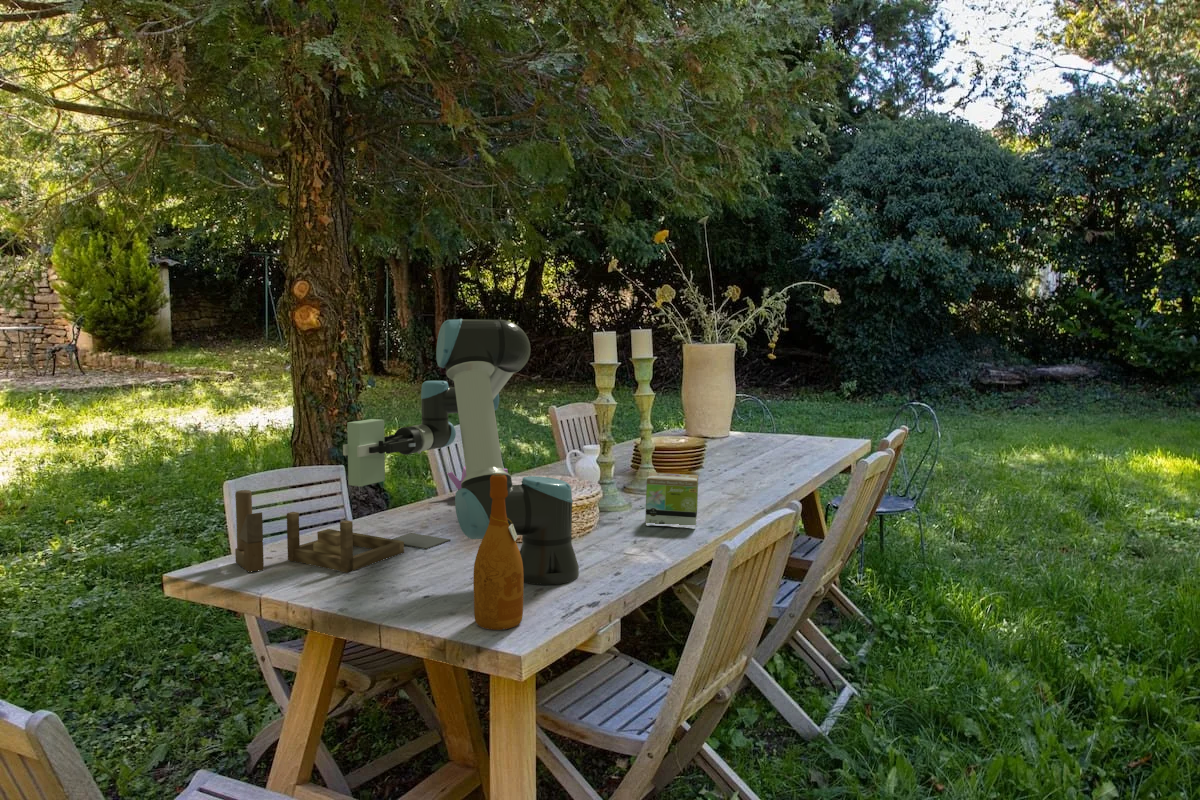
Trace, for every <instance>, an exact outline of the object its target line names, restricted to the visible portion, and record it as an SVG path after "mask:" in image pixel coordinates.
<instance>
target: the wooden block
mask: <svg viewBox="0 0 1200 800" xmlns="http://www.w3.org/2000/svg"><path fill="white" fill-rule="evenodd" d="M252 495H253V494H252V491H251V490H249V489H242V490H237V491H235V517H236V518H235V521H236V544H237V545H236V547H237V548H235V550H234V551H235V553H234V554H235V557H234V558H235V563H236V564H238V566H240V567H241V568H242V567H243V568H242V569H244V570H245V571H246V570H247V571H249V572H251V571H257V572H259V571H258V570H262V571H264V570H263V569H264V568H265V567H264V528H263V527H264V526H263V512H256V513H255V512H254V513H253V497H252ZM247 571H246V572H247ZM251 573H252V572H251Z"/></svg>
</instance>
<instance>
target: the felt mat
mask: <svg viewBox="0 0 1200 800" xmlns="http://www.w3.org/2000/svg"><path fill="white" fill-rule="evenodd" d="M392 539H393V540H399V541H404V545H405V546H404V547H409V546H412V547H411V548H415V547H418V548H417V549H420V548H424V549H423V550H429V549H431V548H430V547H432V548H434V547H433V546H435V547H437V545H438V546H440V545H443V544H445V542H446V543H448V541H449V542H451V538H450V539H449V538H445V537H437V536H433V535H426V534H419V533H416V532H415V533H414V532H409V533H406V534H403V535H400V536H397V537H393V538H392ZM442 543H443V544H442ZM439 544H440V545H439ZM428 548H429V549H428Z"/></svg>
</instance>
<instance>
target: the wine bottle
mask: <svg viewBox="0 0 1200 800" xmlns="http://www.w3.org/2000/svg"><path fill="white" fill-rule="evenodd" d="M507 496H508V491H507V477H506V476H505V475H503V474H494V475H492V476H491V477H490V497H491V498H492V506H491V514H490V522H489V525H488V528H487V530H486V533H485V535H484V537H483V539H481V542H480V544H479V547H478V550H477V553H476V556H475V560H474V565H473V611H474V612H473V613H474V614H473V616H474V621H475V623H476V624H477V626H479V627H481V628H483V629H486V630H491V631H503V629H504V630H508V629H512V628H515V627H516V626H518V625H520V623H521V622H522V620H523V614H524V584H525V582H524V574H523V563H522V558H521V554H520V549H519V546H518V543H517V542H516V540H517V539H518V537H519V536H517V534H516V531H515V528H514V526H513V524H511V525H509V524H508V521H507V519H508V518H507V515H506V506H505V498H506V497H507ZM511 523H512V522H511Z"/></svg>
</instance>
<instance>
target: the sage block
mask: <svg viewBox="0 0 1200 800" xmlns="http://www.w3.org/2000/svg"><path fill="white" fill-rule="evenodd" d="M346 424H347V429H346V430H347V444H348V455H347V474H348V475H347V478H348V480H347V481H348V482H347V483H348V486H353V487H365V486H368V485H372V484H377V483H381V482H385V481H386V466H385V465H386V463H385V461H386V459H385V457H386V456H385V455H386V452H385V453H382V454H380V453H379V452H378V454H373V455H368V456H363V457H357V446H361V445H367V444H372V443H378V446H379V441H383V442H384V437H385V419H378V418H376V419H375V418H371V419H363V420H355V421H349V422H347V423H346Z"/></svg>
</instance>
